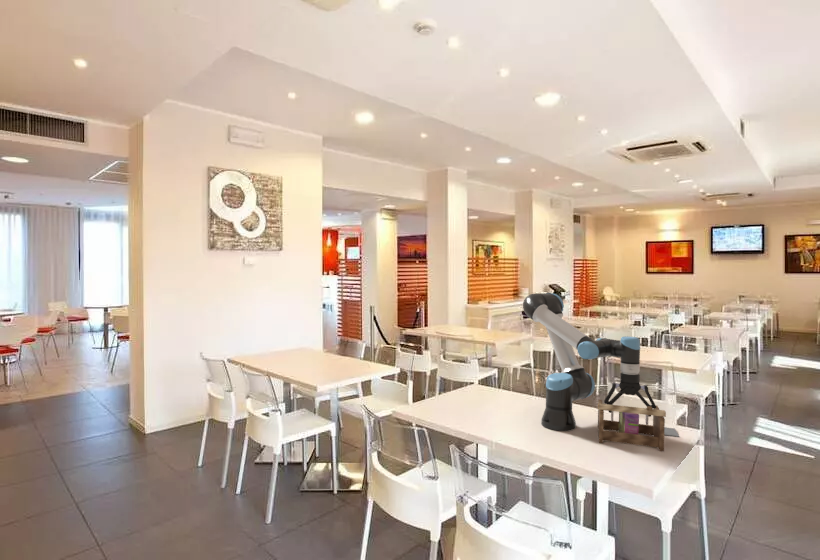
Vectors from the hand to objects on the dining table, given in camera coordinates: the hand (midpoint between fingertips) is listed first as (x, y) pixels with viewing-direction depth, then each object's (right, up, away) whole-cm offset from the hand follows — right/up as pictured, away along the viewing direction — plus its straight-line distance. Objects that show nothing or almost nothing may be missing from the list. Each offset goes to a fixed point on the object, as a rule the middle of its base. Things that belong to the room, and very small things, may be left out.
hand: (629, 422), depth 202 cm
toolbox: (-1, -7, -1) cm, 7 cm away
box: (0, -7, 0) cm, 7 cm away
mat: (+20, -7, +8) cm, 23 cm away
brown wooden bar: (-3, +6, -7) cm, 10 cm away
